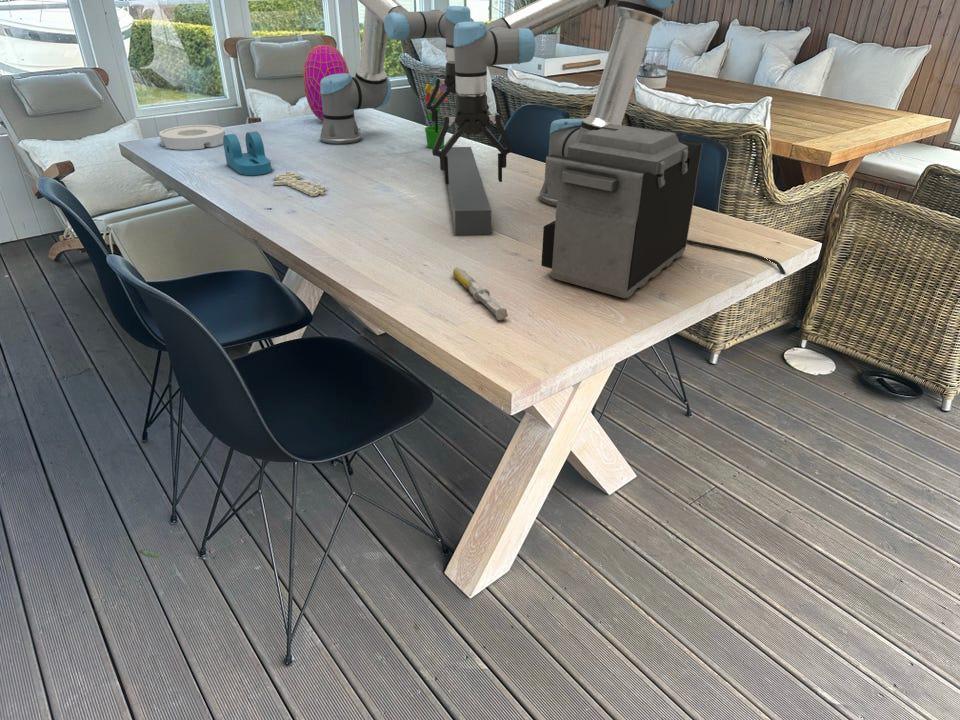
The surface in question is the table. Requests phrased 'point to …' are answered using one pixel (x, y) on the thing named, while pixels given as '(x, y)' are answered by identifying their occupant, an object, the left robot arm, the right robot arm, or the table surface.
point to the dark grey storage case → (619, 207)
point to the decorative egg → (321, 73)
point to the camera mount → (246, 154)
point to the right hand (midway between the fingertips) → (473, 181)
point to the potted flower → (430, 131)
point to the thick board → (467, 194)
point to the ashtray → (192, 137)
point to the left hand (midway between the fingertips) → (457, 131)
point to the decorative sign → (299, 184)
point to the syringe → (479, 293)
